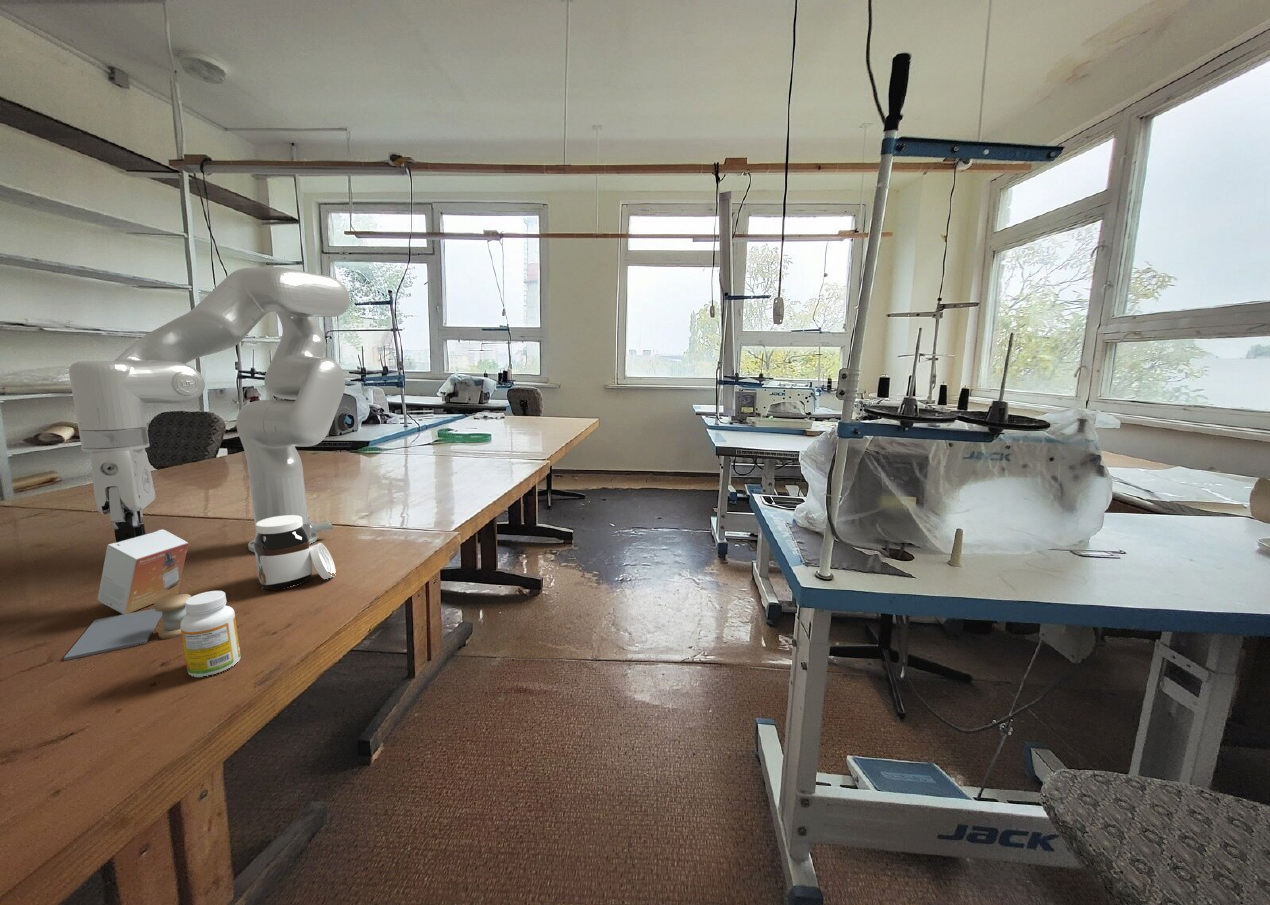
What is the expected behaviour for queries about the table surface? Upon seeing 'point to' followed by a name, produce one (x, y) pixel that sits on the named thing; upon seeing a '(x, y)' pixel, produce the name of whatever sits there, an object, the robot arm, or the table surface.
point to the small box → (142, 571)
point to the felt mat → (115, 633)
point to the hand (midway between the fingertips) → (132, 549)
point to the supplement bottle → (209, 634)
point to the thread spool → (171, 614)
